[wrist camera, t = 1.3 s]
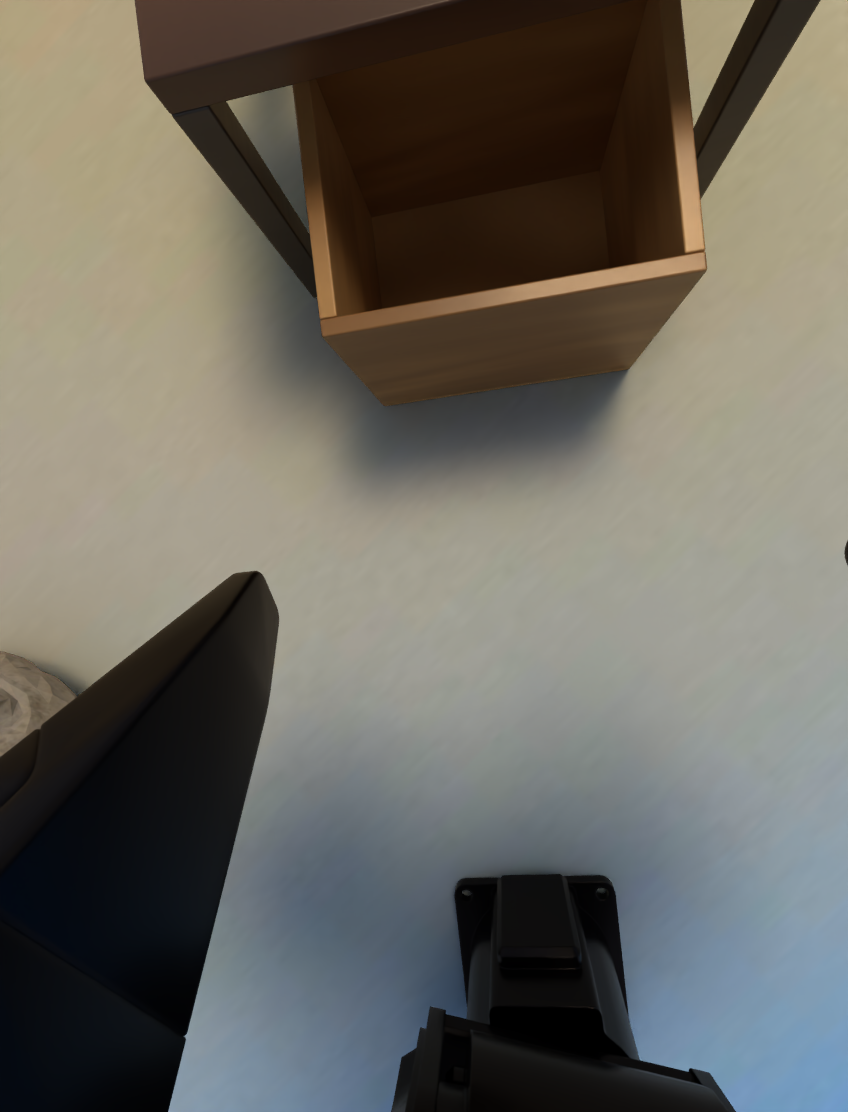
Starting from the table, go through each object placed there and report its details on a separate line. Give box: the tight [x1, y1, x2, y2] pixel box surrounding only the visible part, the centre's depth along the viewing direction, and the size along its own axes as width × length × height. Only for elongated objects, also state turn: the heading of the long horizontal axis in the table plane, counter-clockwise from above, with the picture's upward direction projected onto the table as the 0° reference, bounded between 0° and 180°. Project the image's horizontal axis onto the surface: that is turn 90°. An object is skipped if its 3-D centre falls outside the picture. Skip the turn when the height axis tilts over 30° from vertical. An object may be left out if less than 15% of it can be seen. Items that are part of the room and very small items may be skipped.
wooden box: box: [293, 0, 707, 406], centre depth 18 cm, size 8×10×8 cm
